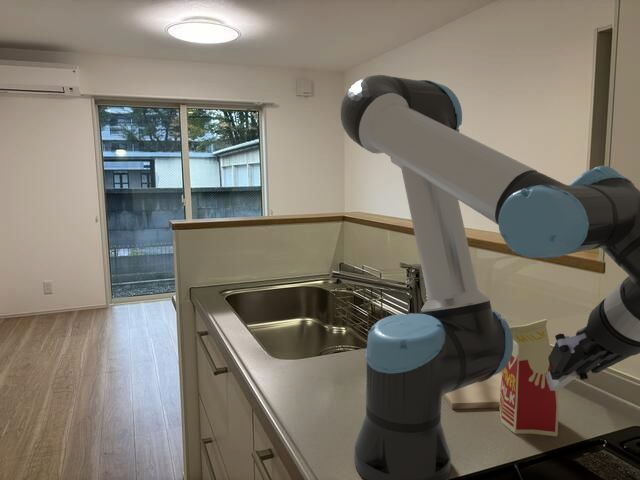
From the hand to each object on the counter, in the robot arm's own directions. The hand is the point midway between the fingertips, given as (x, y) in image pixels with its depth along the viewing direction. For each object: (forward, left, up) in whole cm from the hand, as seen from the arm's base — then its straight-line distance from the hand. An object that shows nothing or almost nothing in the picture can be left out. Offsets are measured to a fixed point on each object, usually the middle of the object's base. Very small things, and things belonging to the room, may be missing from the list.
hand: (552, 382), depth 80 cm
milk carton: (0, +7, -11) cm, 13 cm away
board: (-3, +21, -11) cm, 24 cm away
